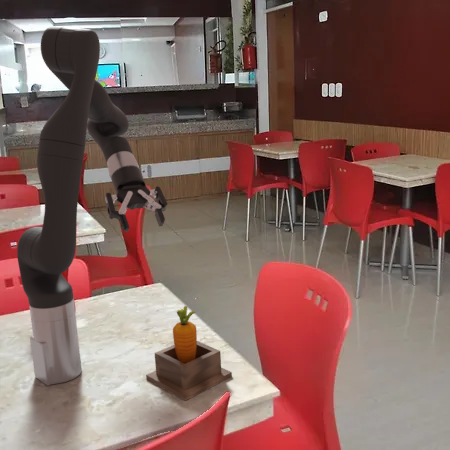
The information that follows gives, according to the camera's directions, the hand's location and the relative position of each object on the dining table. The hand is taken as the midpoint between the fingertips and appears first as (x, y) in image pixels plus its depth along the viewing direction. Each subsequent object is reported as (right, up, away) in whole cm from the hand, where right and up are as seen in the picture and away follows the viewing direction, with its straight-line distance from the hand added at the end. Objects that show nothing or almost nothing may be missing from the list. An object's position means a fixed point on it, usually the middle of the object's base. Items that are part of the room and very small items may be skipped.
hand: (144, 227), depth 129 cm
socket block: (+11, -32, -12) cm, 36 cm away
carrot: (+11, -31, -12) cm, 35 cm away
